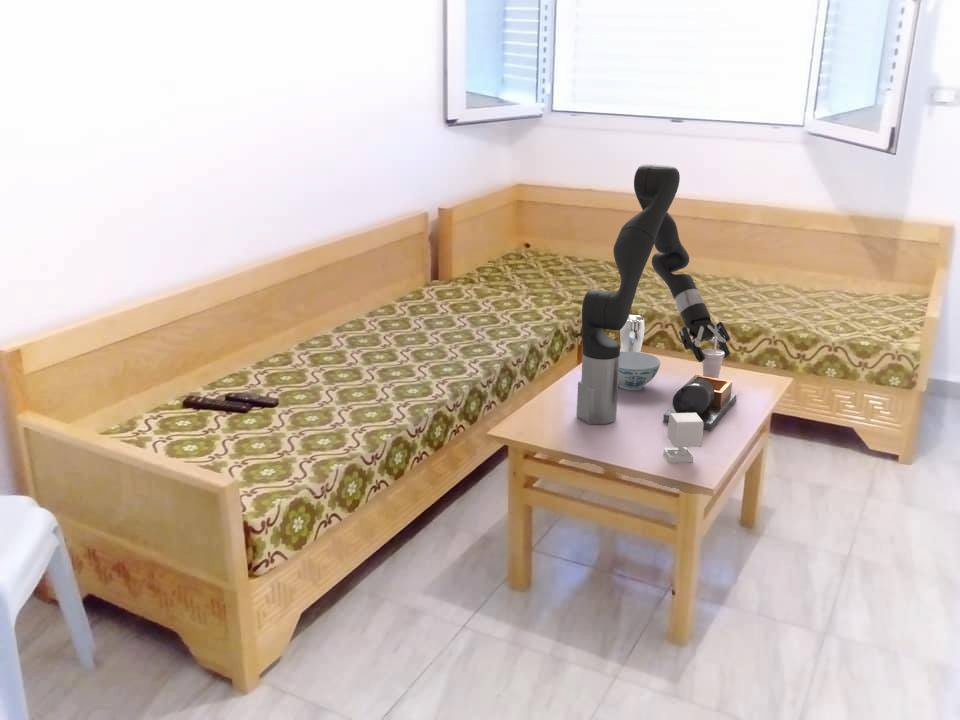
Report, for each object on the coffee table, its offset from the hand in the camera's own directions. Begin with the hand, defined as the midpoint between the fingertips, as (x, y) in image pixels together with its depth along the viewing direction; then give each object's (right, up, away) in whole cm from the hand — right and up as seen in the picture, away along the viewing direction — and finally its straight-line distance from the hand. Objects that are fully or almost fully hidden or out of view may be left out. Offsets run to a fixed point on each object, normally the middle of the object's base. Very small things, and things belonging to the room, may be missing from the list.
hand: (714, 358), depth 250 cm
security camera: (-19, -23, -42) cm, 52 cm away
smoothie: (0, -7, +4) cm, 8 cm away
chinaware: (-23, -8, +2) cm, 24 cm away
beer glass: (-21, -2, +18) cm, 27 cm away
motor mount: (-8, -14, -15) cm, 22 cm away
